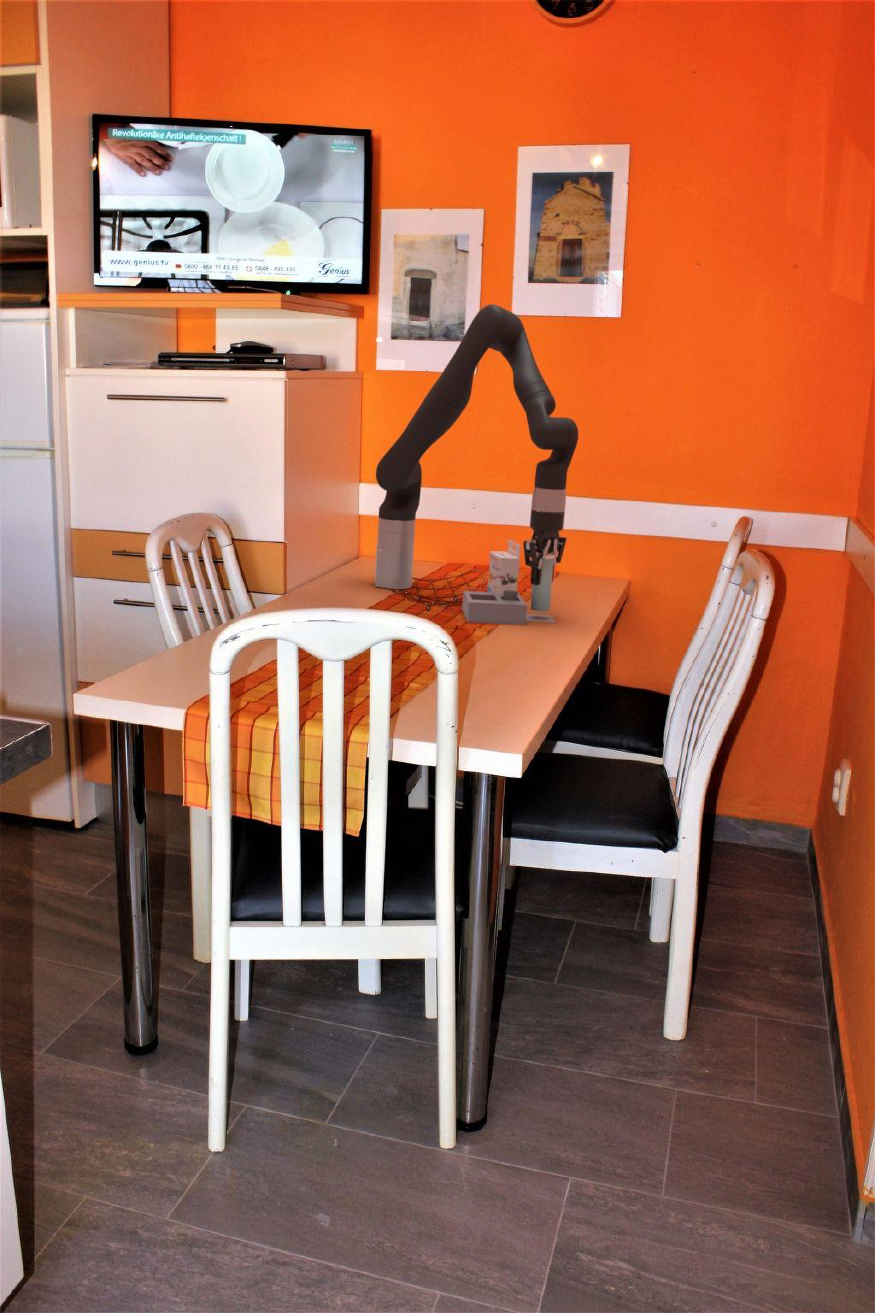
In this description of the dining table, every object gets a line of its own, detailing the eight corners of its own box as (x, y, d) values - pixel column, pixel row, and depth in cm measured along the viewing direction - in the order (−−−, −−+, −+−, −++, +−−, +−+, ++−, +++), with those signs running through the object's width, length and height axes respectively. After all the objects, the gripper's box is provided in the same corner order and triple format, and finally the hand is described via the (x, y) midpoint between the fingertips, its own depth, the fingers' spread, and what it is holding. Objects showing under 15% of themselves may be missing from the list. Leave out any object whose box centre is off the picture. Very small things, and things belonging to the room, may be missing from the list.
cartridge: (525, 609, 255) (529, 553, 252) (537, 606, 259) (541, 551, 255) (542, 612, 252) (547, 556, 249) (554, 609, 256) (558, 554, 253)
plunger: (502, 616, 252) (504, 592, 251) (500, 613, 256) (502, 589, 254) (516, 617, 253) (518, 593, 251) (514, 614, 256) (516, 590, 254)
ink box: (485, 597, 277) (490, 538, 273) (504, 597, 278) (509, 538, 275) (497, 605, 269) (502, 544, 265) (516, 605, 271) (521, 544, 267)
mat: (525, 623, 252) (525, 620, 252) (520, 616, 259) (520, 613, 259) (555, 624, 253) (555, 622, 253) (550, 617, 260) (550, 615, 260)
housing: (467, 624, 248) (469, 602, 246) (462, 612, 259) (463, 590, 258) (525, 626, 249) (527, 605, 248) (517, 614, 260) (519, 593, 259)
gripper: (552, 504, 257) (546, 577, 262) (515, 507, 246) (509, 584, 251) (579, 508, 252) (572, 582, 257) (543, 512, 242) (536, 589, 246)
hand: (541, 582), depth 254 cm, fingers closed on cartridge, 4 cm apart
